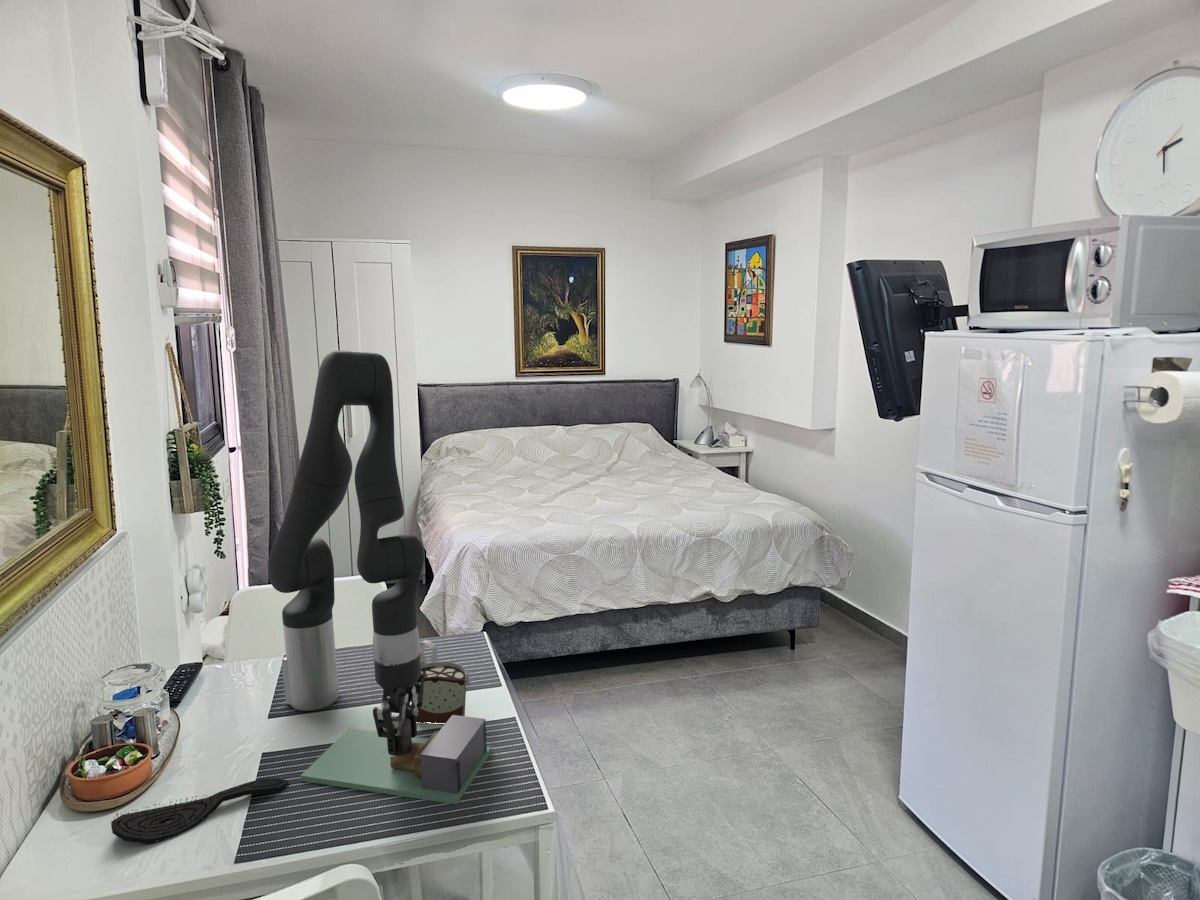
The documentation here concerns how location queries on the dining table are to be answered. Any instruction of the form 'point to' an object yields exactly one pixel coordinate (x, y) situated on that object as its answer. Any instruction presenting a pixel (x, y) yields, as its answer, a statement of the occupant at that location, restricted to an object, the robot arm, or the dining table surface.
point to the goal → (453, 754)
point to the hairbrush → (183, 813)
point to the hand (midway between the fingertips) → (402, 744)
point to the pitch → (374, 768)
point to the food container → (442, 692)
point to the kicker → (409, 750)
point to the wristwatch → (433, 649)
